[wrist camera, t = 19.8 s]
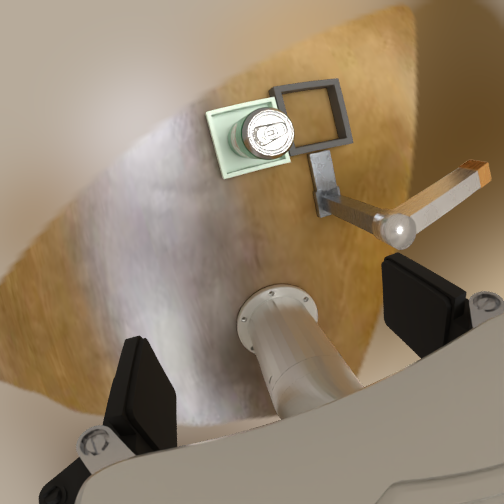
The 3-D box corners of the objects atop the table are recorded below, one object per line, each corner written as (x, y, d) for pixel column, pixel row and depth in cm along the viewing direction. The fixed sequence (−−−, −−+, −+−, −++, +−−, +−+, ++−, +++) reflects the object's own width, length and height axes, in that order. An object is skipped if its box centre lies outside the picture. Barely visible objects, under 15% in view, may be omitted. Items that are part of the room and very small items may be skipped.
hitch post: (339, 209, 43) (398, 235, 30) (317, 216, 42) (370, 245, 29) (328, 149, 40) (388, 151, 27) (304, 154, 39) (357, 158, 26)
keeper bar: (376, 245, 29) (395, 255, 26) (367, 217, 28) (386, 225, 25) (474, 179, 29) (493, 184, 26) (468, 155, 28) (488, 158, 25)
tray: (284, 161, 39) (290, 161, 37) (222, 177, 38) (224, 179, 36) (269, 100, 36) (274, 96, 34) (205, 114, 35) (206, 111, 33)
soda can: (220, 127, 36) (234, 116, 25) (258, 113, 36) (286, 98, 25) (235, 164, 38) (255, 168, 26) (272, 149, 38) (306, 149, 27)
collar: (344, 143, 40) (353, 143, 38) (285, 155, 39) (290, 156, 37) (330, 81, 37) (338, 78, 34) (268, 90, 36) (273, 86, 34)
